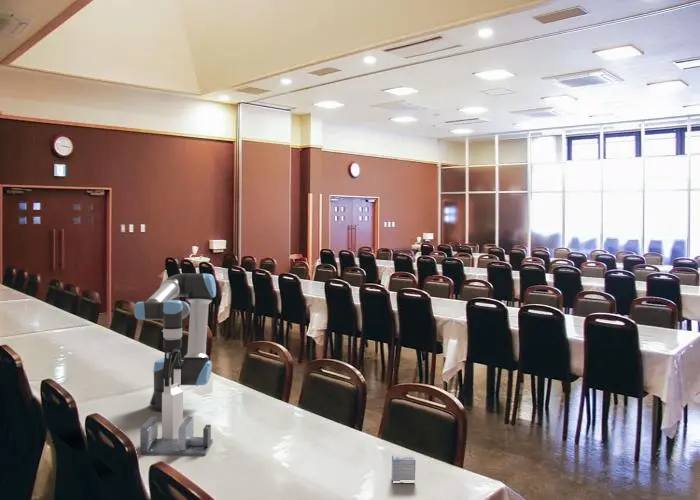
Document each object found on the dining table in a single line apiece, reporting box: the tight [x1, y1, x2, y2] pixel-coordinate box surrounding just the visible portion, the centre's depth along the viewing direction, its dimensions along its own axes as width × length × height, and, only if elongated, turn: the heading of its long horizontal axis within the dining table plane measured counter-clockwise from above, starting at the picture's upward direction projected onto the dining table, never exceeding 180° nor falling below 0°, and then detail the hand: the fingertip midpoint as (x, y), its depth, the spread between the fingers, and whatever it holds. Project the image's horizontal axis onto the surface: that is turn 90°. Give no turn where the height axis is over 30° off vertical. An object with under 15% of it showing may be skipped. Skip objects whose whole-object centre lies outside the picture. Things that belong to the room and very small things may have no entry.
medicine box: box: [391, 454, 417, 481], centre depth 201 cm, size 8×4×9 cm, turn 92°
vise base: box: [139, 416, 214, 456], centre depth 225 cm, size 12×25×10 cm, turn 91°
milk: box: [161, 383, 184, 439], centre depth 237 cm, size 6×6×22 cm
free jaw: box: [177, 415, 212, 450], centre depth 225 cm, size 12×11×9 cm
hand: (172, 389), depth 236 cm, fingers open, 13 cm apart
